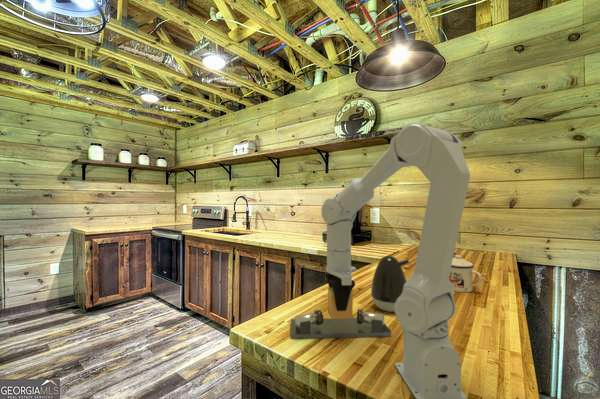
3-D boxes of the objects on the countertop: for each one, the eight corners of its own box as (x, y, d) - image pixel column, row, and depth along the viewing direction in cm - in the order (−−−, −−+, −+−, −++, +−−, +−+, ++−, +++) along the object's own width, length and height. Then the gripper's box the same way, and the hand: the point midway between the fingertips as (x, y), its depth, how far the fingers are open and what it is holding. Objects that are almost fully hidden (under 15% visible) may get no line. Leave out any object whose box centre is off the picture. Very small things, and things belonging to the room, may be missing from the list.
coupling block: (352, 318, 64) (352, 292, 64) (331, 319, 64) (331, 293, 64) (347, 311, 68) (347, 286, 68) (327, 312, 68) (327, 287, 68)
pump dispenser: (412, 317, 74) (412, 260, 74) (372, 314, 76) (372, 258, 76) (405, 303, 84) (405, 253, 84) (370, 300, 86) (370, 251, 86)
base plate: (391, 336, 63) (391, 332, 63) (291, 338, 63) (290, 334, 63) (380, 321, 71) (380, 317, 71) (290, 323, 71) (290, 319, 71)
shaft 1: (299, 335, 62) (299, 317, 62) (294, 329, 65) (294, 311, 65) (323, 330, 64) (323, 312, 64) (317, 324, 67) (317, 308, 67)
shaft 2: (384, 327, 66) (384, 310, 66) (383, 333, 63) (383, 315, 63) (358, 323, 68) (358, 307, 68) (357, 329, 65) (357, 312, 65)
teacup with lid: (438, 287, 98) (438, 254, 98) (451, 283, 103) (451, 251, 103) (475, 297, 88) (475, 261, 88) (488, 292, 93) (487, 257, 93)
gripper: (365, 255, 59) (365, 318, 59) (347, 244, 74) (347, 295, 74) (332, 256, 58) (333, 320, 59) (320, 244, 73) (321, 296, 73)
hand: (339, 306), depth 66 cm, fingers closed on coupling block, 4 cm apart
